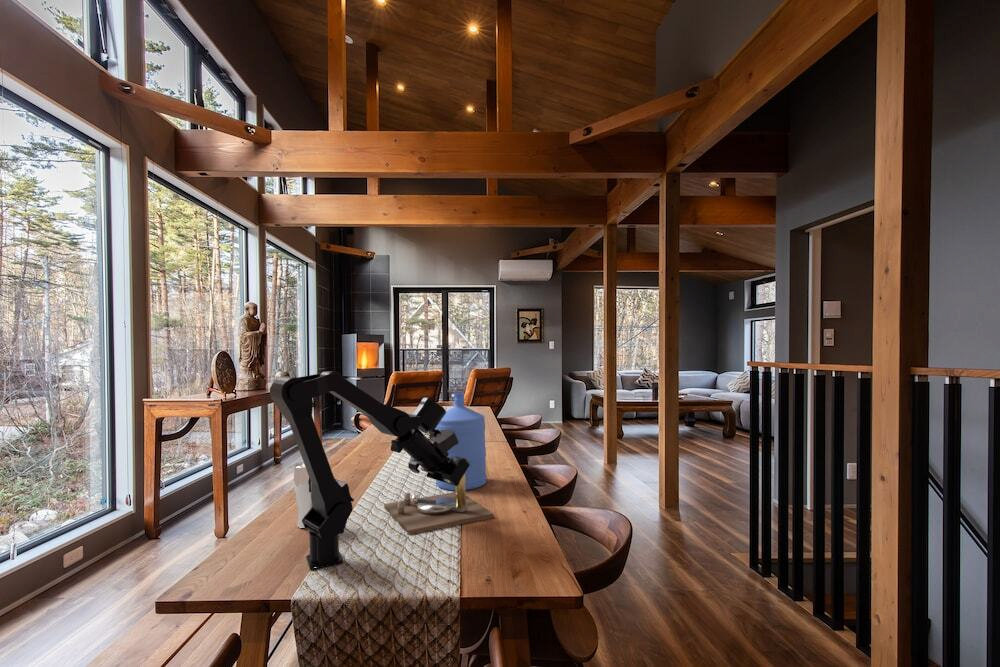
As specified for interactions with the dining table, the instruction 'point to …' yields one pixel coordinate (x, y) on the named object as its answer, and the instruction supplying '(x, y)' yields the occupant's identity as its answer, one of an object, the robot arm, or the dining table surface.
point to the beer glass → (302, 491)
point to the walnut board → (423, 522)
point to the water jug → (466, 442)
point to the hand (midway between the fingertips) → (457, 484)
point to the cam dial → (443, 502)
